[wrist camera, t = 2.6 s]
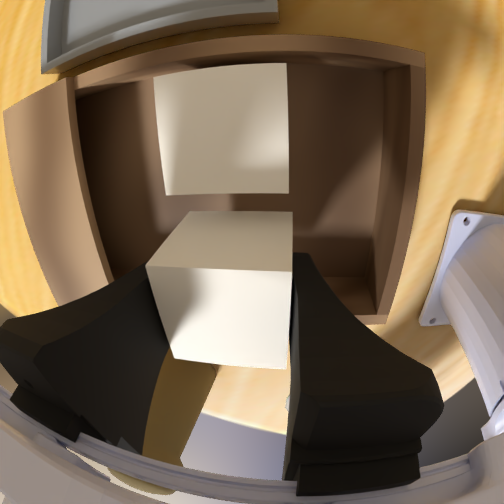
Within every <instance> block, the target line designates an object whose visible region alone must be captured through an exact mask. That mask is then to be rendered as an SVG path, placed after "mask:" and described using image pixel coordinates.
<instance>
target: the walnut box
mask: <svg viewBox="0 0 504 504" xmlns="http://www.w3.org/2000/svg"><path fill="white" fill-rule="evenodd" d="M262 63H286V68H287V95H288V139H289V194H286V193H227V194H189V195H166V191H165V185H164V178H163V170H162V163H161V155H160V147H159V138H158V128H157V118H156V107H155V94H154V79H153V77H157V76H162V75H167V74H172V73H177V72H183V71H189V70H196V69H203V68H211V67H220V66H230V65H243V64H262ZM425 113H426V72H425V53H423V52H419V51H416V50H412V49H407V48H403V47H399V46H394V45H389V44H384V43H378V42H373V41H366V40H359V39H352V38H343V37H333V36H319V35H293V34H279V35H252V36H238V37H228V38H219V39H211V40H204V41H198V42H192V43H186V44H181V45H176V46H171V47H166V48H162V49H158V50H153V51H149V52H146V53H142V54H138V55H135V56H131V57H128V58H125V59H121V60H118V61H115V62H112V63H109V64H106V65H103V66H101V67H98V68H95V69H92V70H90V71H87V72H85V73H82V74H80V75H77V76H75V77H66V78H63V79H61V80H59V81H57V82H55V83H53V84H51V85H49V86H47V87H45V88H43V89H41V90H39V91H37V92H35V93H33V94H32V95H30V96H28V97H26V98H24V99H23V100H21V101H19V102H18V103H16V104H14V105H13V106H11V107H9V108H8V109H6V110H5V111H3V116H4V126H5V135H6V142H7V149H8V155H9V160H10V166H11V171H12V176H13V180H14V185H15V189H16V193H17V197H18V201H19V204H20V208H21V211H22V215H23V218H24V221H25V225H26V228H27V231H28V234H29V237H30V240H31V243H32V245H33V248H34V251H35V254H36V256H37V259H38V261H39V264H40V266H41V269H42V271H43V274H44V276H45V278H46V281H47V283H48V285H49V287H50V290H51V292H52V294H53V296H54V298H55V300H56V302H57V304H58V306H62V305H64V304H67V303H69V302H72V301H74V300H77V299H79V298H82V297H84V296H86V295H88V294H90V293H92V292H95V291H97V290H99V289H101V288H102V287H104V286H106V285H108V284H110V283H112V282H113V281H115V280H117V279H118V278H120V277H122V276H123V275H125V274H127V273H129V272H130V271H132V270H134V269H135V268H137V267H138V266H140V265H142V264H143V263H145V262H146V261H148V260H150V259H151V258H152V256H153V255H154V254H155V253H156V251H157V250H158V249H159V248H160V246H161V245H162V244H163V243H164V241H165V240H166V239H167V238H168V236H169V235H170V234H171V233H172V232H173V230H174V229H175V228H176V227H177V226H178V224H179V223H180V222H181V221H182V220H183V218H184V217H185V216H186V215H187V214H188V213H189V211H279V212H293V241H292V252H298V253H309V255H310V256H311V258H312V260H313V262H314V263H315V265H316V267H317V269H318V270H319V272H320V273H321V275H322V276H323V278H324V279H325V281H326V282H327V284H328V285H329V286H330V288H331V289H332V290H333V292H334V293H335V294H336V296H337V297H338V298H339V299H340V300H341V302H342V303H343V304H344V305H345V306H346V307H347V308H348V310H349V311H350V312H351V313H352V314H353V315H354V316H355V317H356V318H357V319H359V320H360V321H361V322H362V323H363V324H364V325H372V324H386V321H387V318H388V315H389V312H390V309H391V306H392V303H393V299H394V296H395V293H396V289H397V286H398V282H399V279H400V275H401V271H402V268H403V264H404V260H405V256H406V252H407V247H408V243H409V238H410V234H411V229H412V224H413V219H414V214H415V208H416V202H417V196H418V189H419V182H420V175H421V167H422V157H423V147H424V134H425Z"/></svg>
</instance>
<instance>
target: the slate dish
mask: <svg viewBox="0 0 504 504" xmlns="http://www.w3.org/2000/svg"><path fill="white" fill-rule="evenodd" d="M268 23H279V11H278V0H45V7H44V16H43V27H42V45H41V74H56V73H63V72H65V71H67V70H69V69H72V68H74V67H76V66H78V65H81V64H83V63H86V62H88V61H90V60H93V59H96V58H98V57H101V56H103V55H106V54H109V53H112V52H115V51H118V50H121V49H124V48H127V47H130V46H133V45H137V44H140V43H144V42H147V41H151V40H155V39H159V38H163V37H168V36H172V35H177V34H182V33H187V32H192V31H198V30H204V29H211V28H218V27H227V26H236V25H248V24H268Z"/></svg>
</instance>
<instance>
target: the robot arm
mask: <svg viewBox="0 0 504 504" xmlns="http://www.w3.org/2000/svg"><path fill="white" fill-rule="evenodd" d="M466 217H467V220H466V221H465V222H464V219H465V218H466ZM463 222H464V223H463ZM148 261H149V260H148ZM148 261H146V262H145V263H143V264H142V265H140V266H138V267H137V268H135V269H134V270H132V271H130V272H129V273H127V274H125V275H123V276H122V277H120V278H118V279H117V280H115V281H113V282H112V283H110V284H108V285H106V286H104V287H102V288H101V289H99V290H97V291H95V292H92V293H90V294H88V295H86V296H84V297H82V298H79V299H77V300H74V301H72V302H69V303H67V304H64V305H62V306H59V307H56V308H53V309H50V310H46V311H43V312H39V313H36V314H32V315H27V316H22V317H17V318H12V319H8V320H7V321H5V322H4V323H3V325H2V326H1V327H0V363H1V364H2V365H3V367H4V368H5V369H6V370H7V372H8V373H9V374H10V375H11V377H12V378H13V379H14V380H15V381H16V383H17V384H18V386H17V388H16V390H15V391H14V393H11V392H10V391H8V390H7V389H5V388H4V387H3V386H1V385H0V491H1V492H2V493H3V494H4V495H5V498H4V500H3V503H2V504H168V503H165V502H161V501H158V500H155V499H152V498H149V497H147V496H144V495H141V494H138V493H136V492H133V491H130V490H128V489H125V488H122V487H120V486H118V485H116V484H113V483H111V482H110V478H109V477H108V476H106V475H105V474H103V473H101V472H100V471H98V470H96V469H95V468H93V467H91V466H90V465H88V464H87V463H86V462H84V461H83V460H82V459H80V458H79V457H78V456H77V455H75V454H73V453H71V452H70V451H68V450H67V448H69V449H71V450H73V451H74V452H76V453H78V454H80V455H82V456H84V457H86V458H88V459H91V460H93V461H95V462H97V463H99V464H102V465H104V466H106V467H108V468H111V469H113V470H116V471H118V472H121V473H123V474H126V475H129V476H131V477H134V478H137V479H140V480H143V481H146V482H149V483H152V484H155V485H158V486H162V487H165V488H169V489H173V490H176V491H180V492H185V493H189V494H193V495H198V496H202V497H207V498H213V499H218V500H225V501H231V502H239V503H248V504H504V215H498V214H491V213H484V212H476V211H468V210H460V209H459V210H456V211H454V212H453V213H452V215H451V218H450V222H449V226H448V231H447V234H446V238H445V242H444V246H443V249H442V253H441V256H440V260H439V263H438V266H437V269H436V273H435V276H434V279H433V282H432V285H431V287H430V290H429V293H428V296H427V299H426V301H425V304H424V306H423V309H422V312H421V314H420V317H419V320H418V321H419V323H420V325H421V326H436V325H447V324H451V325H452V327H453V329H454V331H455V333H456V335H457V337H458V340H459V342H460V344H461V346H462V348H463V350H464V352H465V354H466V357H467V359H468V361H469V364H470V366H471V368H472V371H473V373H474V375H475V378H476V380H477V383H478V385H479V388H480V391H481V393H482V396H483V399H484V401H485V404H486V407H487V410H488V413H489V416H490V418H491V419H490V420H489V421H488V422H487V423H486V425H484V426H483V427H482V429H481V430H482V434H483V437H484V442H482V443H480V444H479V445H477V446H476V447H475V448H473V449H472V450H471V451H470V452H469V453H468V454H465V455H462V456H459V457H456V458H453V459H450V460H447V461H444V462H440V463H437V464H433V465H429V466H425V467H421V468H419V461H418V454H417V453H419V452H420V451H421V449H422V445H421V440H420V437H421V436H422V435H423V434H424V433H425V432H426V431H427V430H428V429H429V428H430V427H431V426H432V425H433V424H434V423H435V422H436V421H437V419H438V418H439V417H440V415H441V414H442V412H443V408H444V403H443V400H442V396H441V392H440V389H439V386H438V383H437V381H436V378H435V376H434V374H433V371H432V369H430V368H428V367H426V366H425V365H423V364H421V363H419V362H417V361H416V360H414V359H412V358H410V357H408V356H407V355H405V354H403V353H402V352H400V351H399V350H397V349H396V348H394V347H393V346H391V345H390V344H388V343H387V342H385V341H384V340H383V339H381V338H380V337H379V336H377V335H376V334H375V333H374V332H373V331H371V330H370V329H369V328H368V327H366V326H365V325H364V324H363V323H362V322H361V321H360V320H359V319H357V318H356V317H355V316H354V315H353V314H352V313H351V312H350V311H349V310H348V308H347V307H346V306H345V305H344V304H343V303H342V302H341V300H340V299H339V298H338V297H337V296H336V294H335V293H334V292H333V290H332V289H331V288H330V286H329V285H328V284H327V282H326V281H325V279H324V278H323V276H322V275H321V273H320V272H319V270H318V269H317V267H316V265H315V263H314V262H313V260H312V258H311V256H310V255H309V253H298V252H292V285H291V305H290V322H289V345H290V363H291V385H290V400H289V413H288V426H287V437H286V447H285V457H284V466H283V475H282V481H279V480H278V481H277V480H262V479H252V478H242V477H234V476H227V475H221V474H215V473H209V472H204V471H198V470H194V469H189V468H185V467H180V466H176V465H172V464H168V463H165V462H161V461H157V460H154V459H151V458H147V457H144V456H142V453H143V445H144V438H145V431H146V425H147V420H148V415H149V410H150V406H151V402H152V398H153V394H154V390H155V386H156V383H157V379H158V376H159V373H160V369H161V366H162V364H163V361H164V359H165V356H166V354H167V352H168V350H169V347H170V344H169V342H168V339H167V336H166V333H165V330H164V327H163V324H162V321H161V318H160V315H159V311H158V308H157V305H156V302H155V298H154V295H153V292H152V288H151V285H150V281H149V278H148V274H147V270H146V266H145V265H146V264H147V263H148ZM432 318H433V319H432ZM66 447H67V448H66Z"/></svg>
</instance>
